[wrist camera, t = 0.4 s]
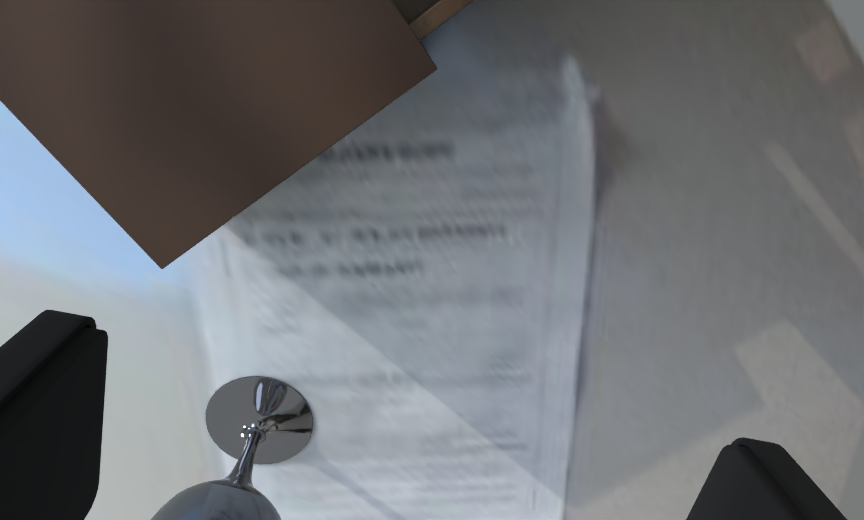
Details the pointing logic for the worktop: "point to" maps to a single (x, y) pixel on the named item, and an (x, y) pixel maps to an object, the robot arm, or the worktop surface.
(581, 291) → the worktop surface
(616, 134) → the worktop surface
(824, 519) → the robot arm
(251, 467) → the wine glass
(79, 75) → the cabinet
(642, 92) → the worktop surface
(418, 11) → the drawer
